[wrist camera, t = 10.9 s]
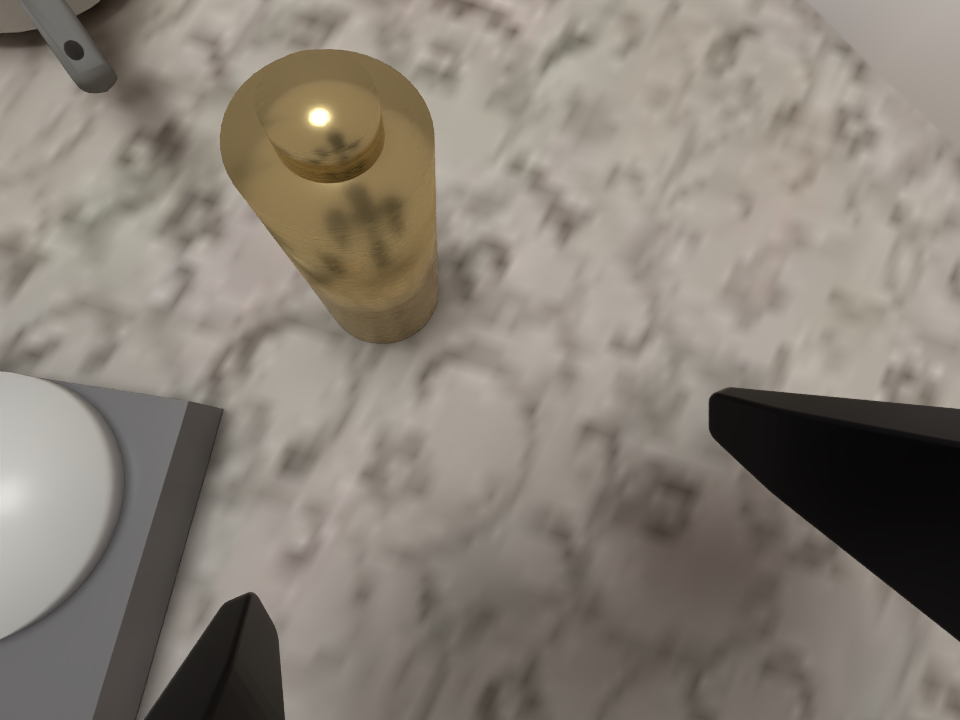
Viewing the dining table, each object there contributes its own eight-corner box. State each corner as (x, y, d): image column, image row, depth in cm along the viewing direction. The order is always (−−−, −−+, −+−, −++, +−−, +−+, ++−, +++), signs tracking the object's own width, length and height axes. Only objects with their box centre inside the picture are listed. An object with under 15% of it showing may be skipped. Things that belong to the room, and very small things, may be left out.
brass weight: (458, 277, 19) (477, 80, 9) (397, 364, 18) (343, 247, 8) (370, 221, 19) (294, -30, 9) (304, 304, 18) (141, 119, 8)
